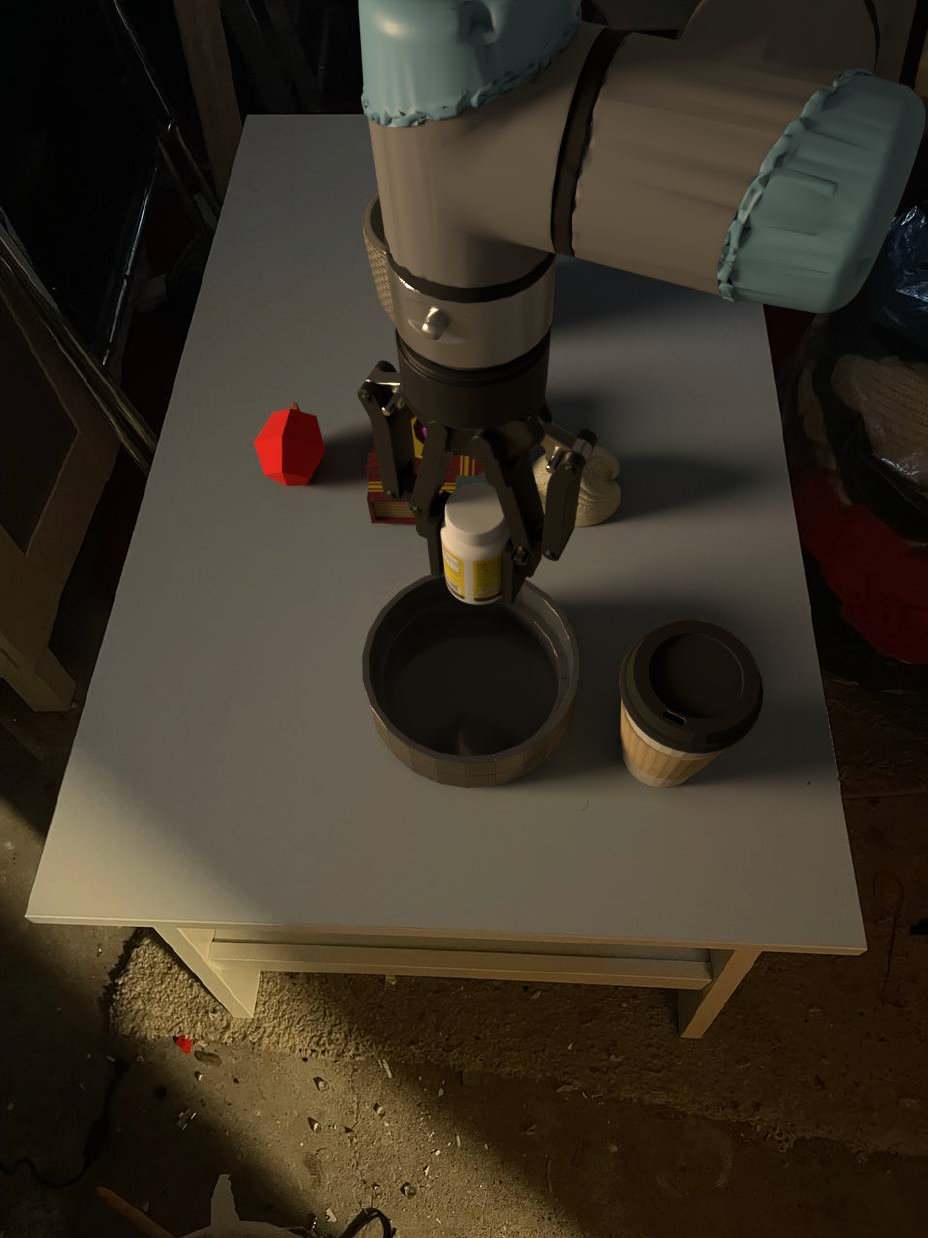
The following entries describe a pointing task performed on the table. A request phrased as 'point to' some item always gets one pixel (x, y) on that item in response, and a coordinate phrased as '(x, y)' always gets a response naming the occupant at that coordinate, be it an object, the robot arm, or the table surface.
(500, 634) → the bowl
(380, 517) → the decorative book
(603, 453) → the seashell
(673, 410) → the table surface
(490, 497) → the supplement bottle
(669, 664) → the coffee cup
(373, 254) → the planter
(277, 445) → the apple
